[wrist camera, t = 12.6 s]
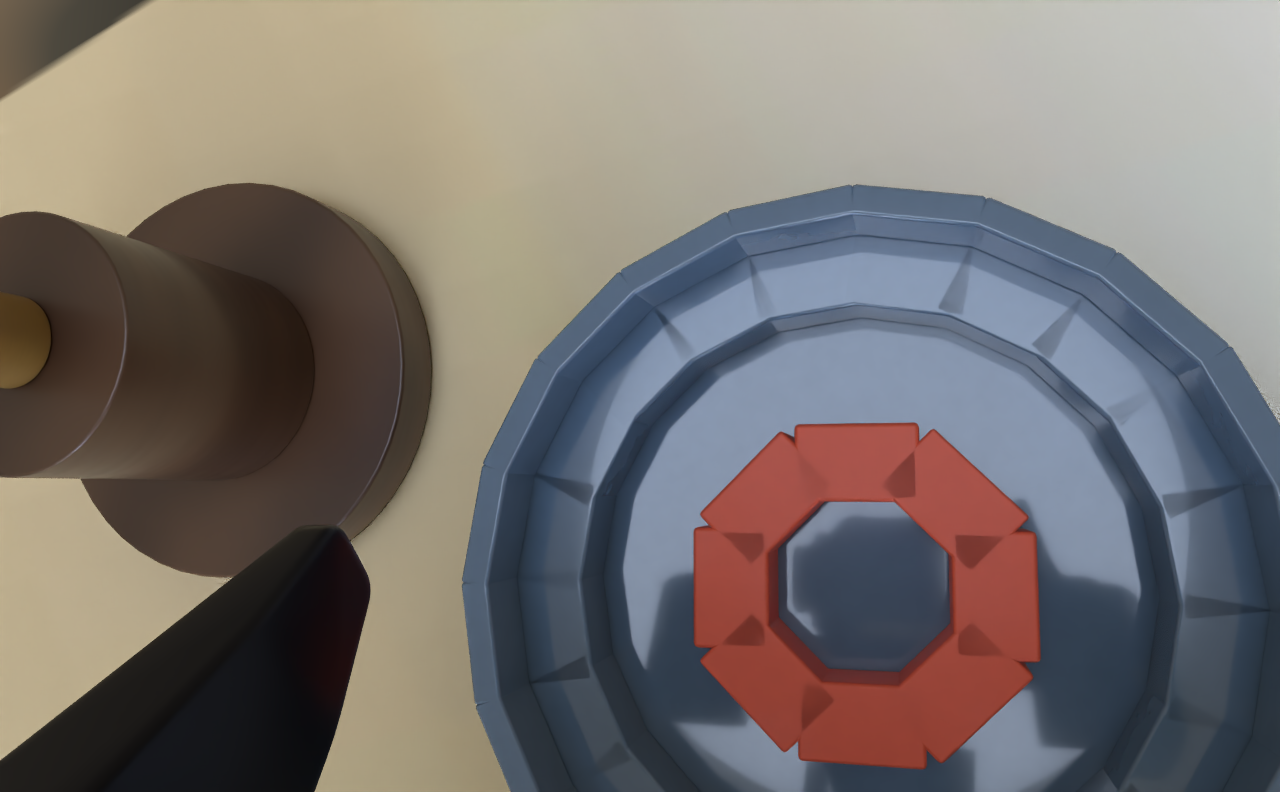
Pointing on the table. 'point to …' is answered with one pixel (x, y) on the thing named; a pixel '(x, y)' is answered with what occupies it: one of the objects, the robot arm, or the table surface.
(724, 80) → the table surface
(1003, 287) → the dish
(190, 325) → the ring stand
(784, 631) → the ring
